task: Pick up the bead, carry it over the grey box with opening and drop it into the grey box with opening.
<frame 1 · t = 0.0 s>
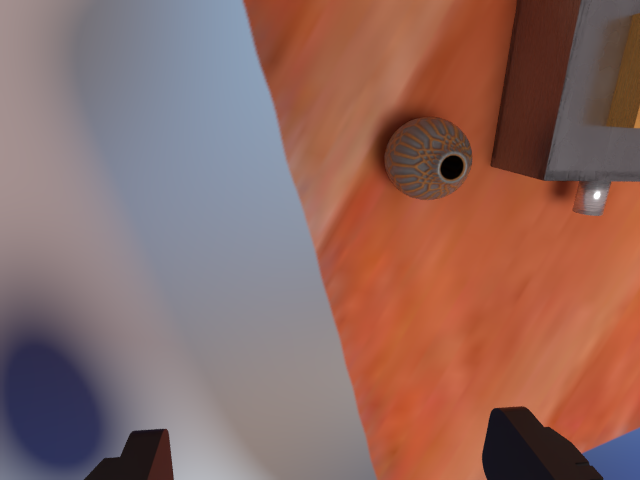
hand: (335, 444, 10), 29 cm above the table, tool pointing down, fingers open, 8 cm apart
vase: (411, 154, 38), on the table
grey box with opening: (584, 81, 37), on the table
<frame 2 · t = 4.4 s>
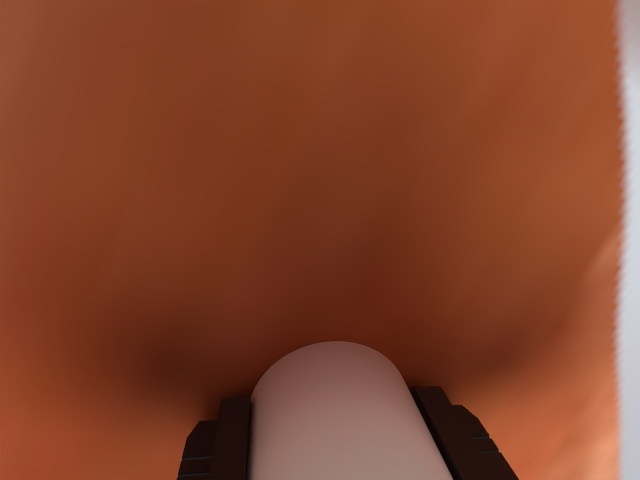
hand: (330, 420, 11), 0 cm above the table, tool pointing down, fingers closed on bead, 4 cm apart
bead: (329, 410, 11), on the table, touching gripper
when the fingers open (13 cm above the table, at t = 8.4 s): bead drops 11 cm and tips over, resting on grey box with opening.
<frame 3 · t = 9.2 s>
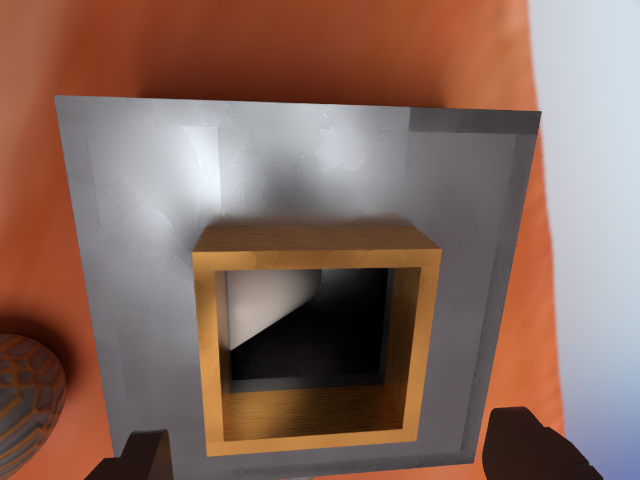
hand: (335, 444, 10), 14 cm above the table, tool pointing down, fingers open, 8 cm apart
vase: (23, 364, 24), on the table
grey box with opening: (296, 250, 23), on the table
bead: (287, 264, 21), point 2 cm above the table, tilted 42°, touching grey box with opening
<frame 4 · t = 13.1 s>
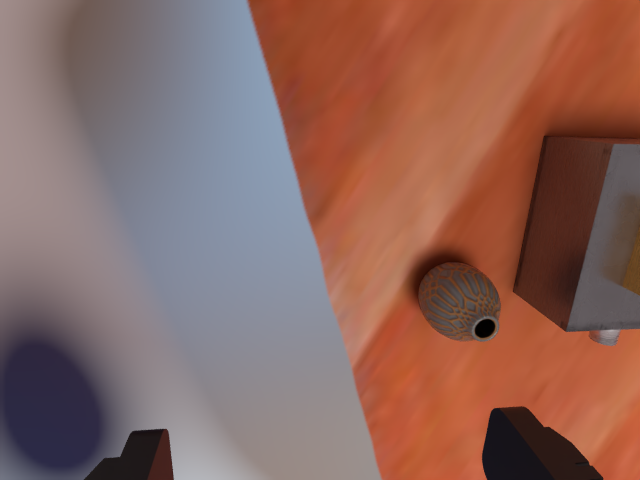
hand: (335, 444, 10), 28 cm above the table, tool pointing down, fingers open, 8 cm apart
vase: (441, 283, 41), on the table
grey box with opening: (600, 218, 41), on the table
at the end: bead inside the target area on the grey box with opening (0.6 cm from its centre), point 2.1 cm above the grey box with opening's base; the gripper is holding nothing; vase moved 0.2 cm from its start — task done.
